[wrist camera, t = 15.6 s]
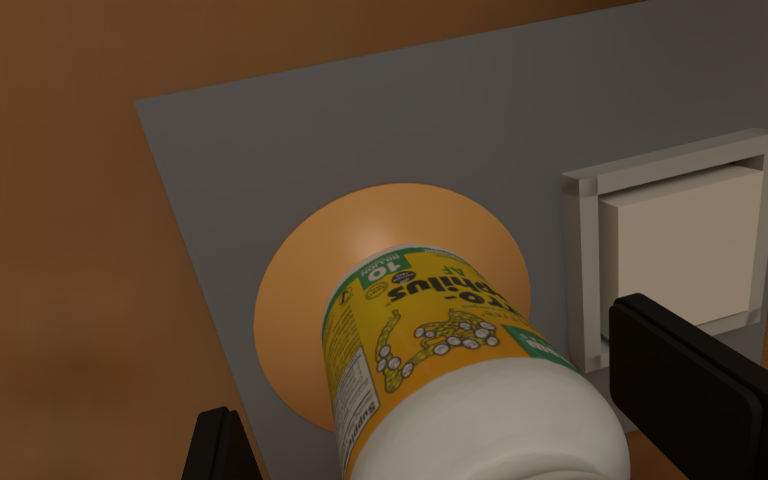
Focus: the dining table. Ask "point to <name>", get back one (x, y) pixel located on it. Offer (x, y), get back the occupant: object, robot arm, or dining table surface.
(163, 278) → the dining table surface
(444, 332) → the supplement bottle
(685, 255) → the button
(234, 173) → the grey flat rectangular block
